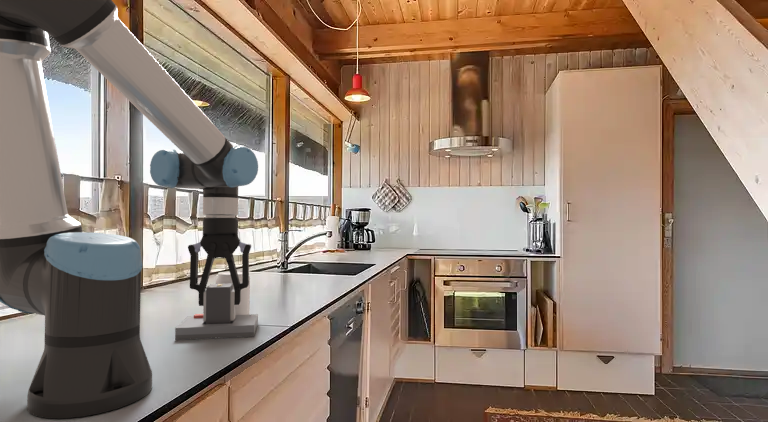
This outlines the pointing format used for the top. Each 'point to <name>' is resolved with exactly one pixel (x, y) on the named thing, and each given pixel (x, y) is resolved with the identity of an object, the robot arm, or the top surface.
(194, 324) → the socket faceplate
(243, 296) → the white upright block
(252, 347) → the top surface
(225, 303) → the dark grey upright block
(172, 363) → the top surface
